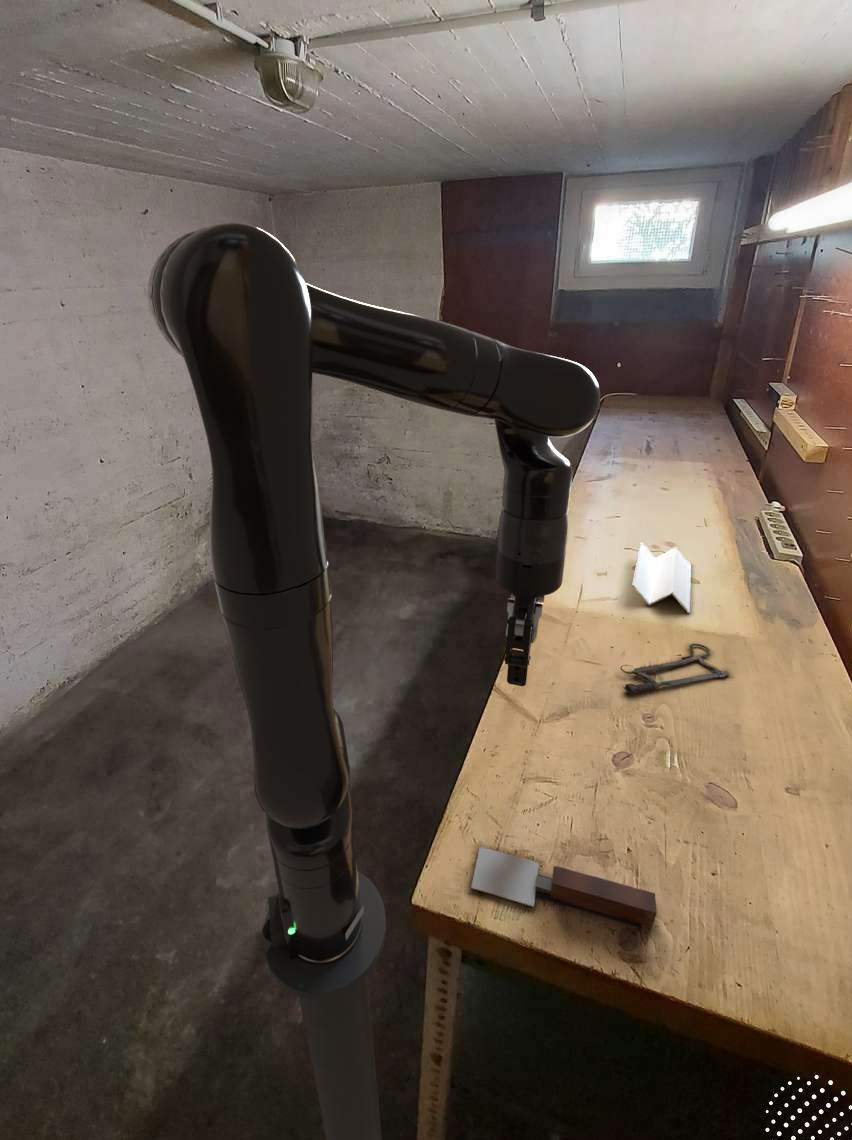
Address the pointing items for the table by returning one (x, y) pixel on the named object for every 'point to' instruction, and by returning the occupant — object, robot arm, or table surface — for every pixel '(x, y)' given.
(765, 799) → the table surface
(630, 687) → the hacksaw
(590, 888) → the scraper
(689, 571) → the z bracket
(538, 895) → the edge strip
